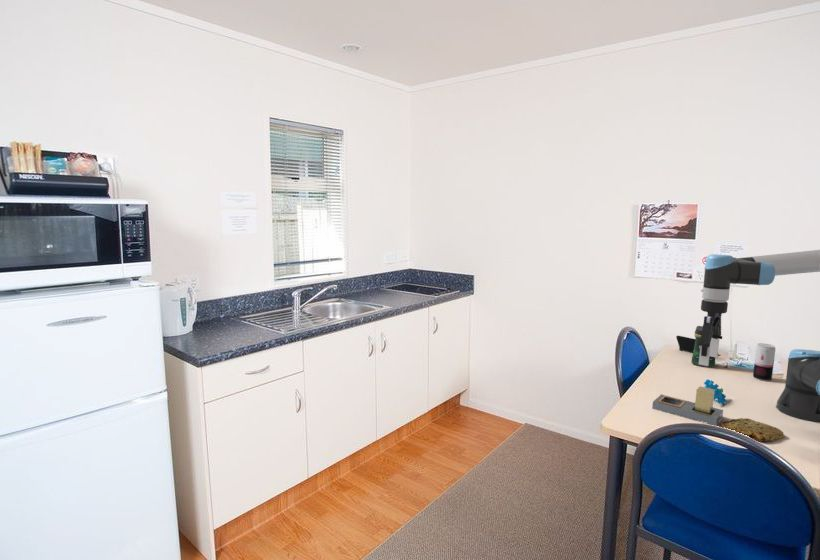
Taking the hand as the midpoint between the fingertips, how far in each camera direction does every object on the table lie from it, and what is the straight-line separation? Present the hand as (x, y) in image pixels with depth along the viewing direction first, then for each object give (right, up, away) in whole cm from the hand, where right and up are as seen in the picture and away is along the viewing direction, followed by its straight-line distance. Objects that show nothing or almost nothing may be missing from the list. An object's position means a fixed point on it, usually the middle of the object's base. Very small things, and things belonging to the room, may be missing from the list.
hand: (708, 360), depth 161 cm
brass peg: (0, -20, +3) cm, 20 cm away
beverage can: (+51, -15, +42) cm, 68 cm away
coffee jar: (+36, -13, +60) cm, 71 cm away
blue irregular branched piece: (+14, -19, +17) cm, 29 cm away
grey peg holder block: (-4, -20, +6) cm, 21 cm away
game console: (+45, -10, +80) cm, 92 cm away
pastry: (+9, -22, -7) cm, 25 cm away
